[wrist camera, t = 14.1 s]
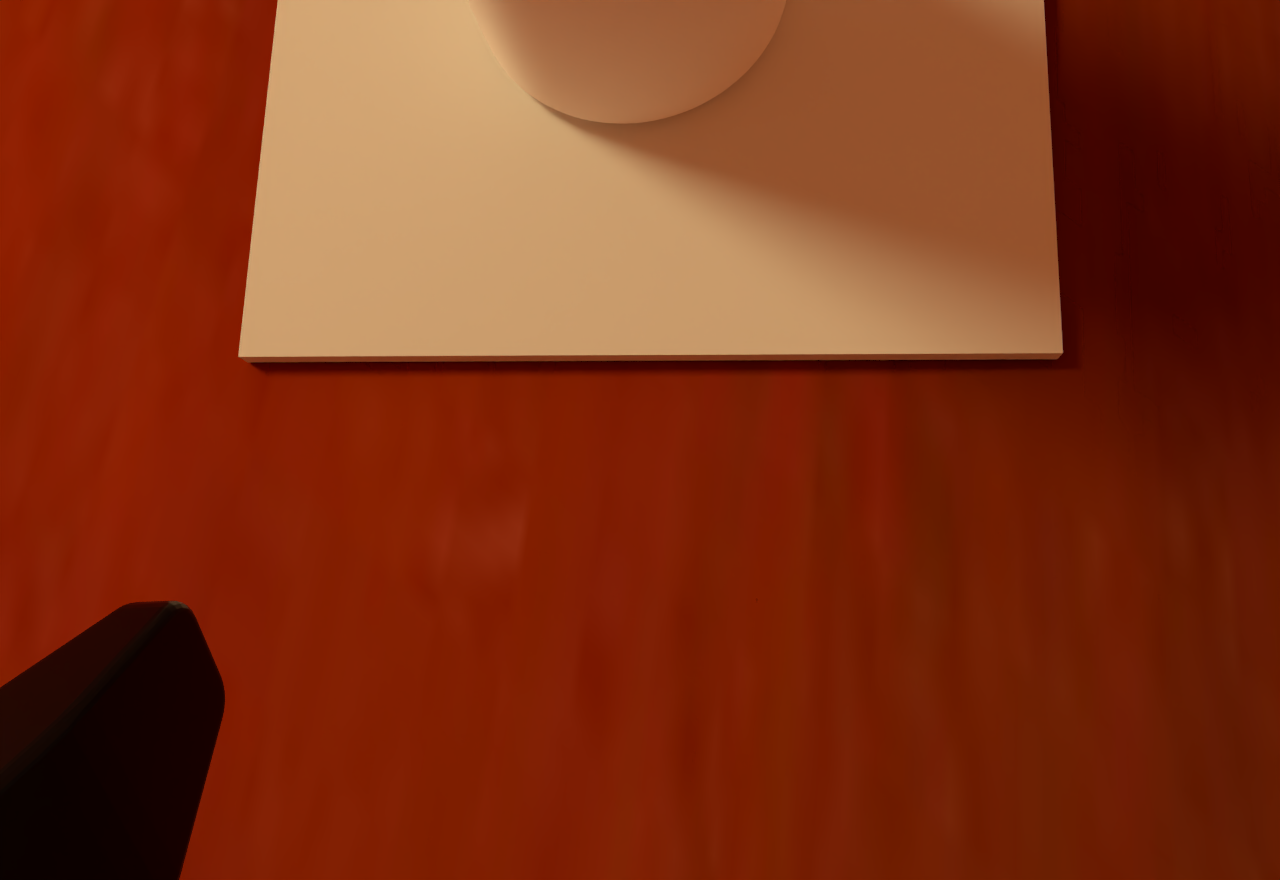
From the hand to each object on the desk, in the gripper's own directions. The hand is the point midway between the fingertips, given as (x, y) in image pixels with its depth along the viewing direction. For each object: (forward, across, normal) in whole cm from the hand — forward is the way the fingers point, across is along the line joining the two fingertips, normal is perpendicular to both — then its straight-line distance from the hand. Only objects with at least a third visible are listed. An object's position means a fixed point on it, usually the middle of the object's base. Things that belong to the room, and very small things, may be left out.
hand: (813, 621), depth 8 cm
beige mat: (+19, +2, -1) cm, 19 cm away
